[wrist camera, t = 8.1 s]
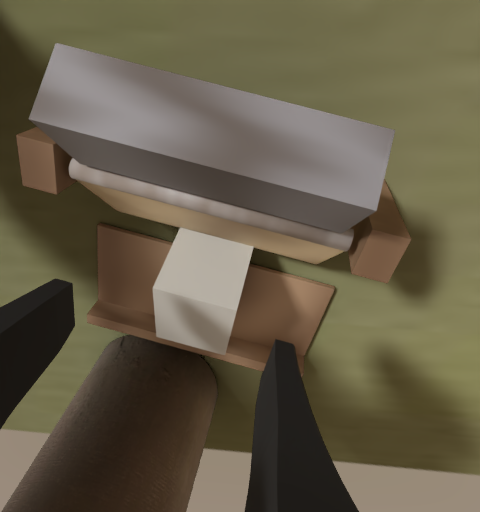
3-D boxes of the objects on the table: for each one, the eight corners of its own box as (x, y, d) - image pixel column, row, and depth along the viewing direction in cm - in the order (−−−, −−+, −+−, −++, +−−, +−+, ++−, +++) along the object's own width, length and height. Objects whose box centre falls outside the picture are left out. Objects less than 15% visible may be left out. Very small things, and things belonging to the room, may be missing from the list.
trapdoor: (132, 162, 20) (117, 211, 20) (39, 38, 11) (5, 129, 10) (328, 214, 20) (316, 265, 20) (412, 134, 10) (390, 231, 10)
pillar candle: (143, 311, 26) (-20, 583, 13) (245, 387, 28) (186, 677, 16) (81, 368, 31) (-81, 606, 18) (172, 429, 33) (84, 675, 21)
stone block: (180, 227, 20) (179, 280, 23) (152, 288, 17) (156, 336, 21) (253, 246, 19) (240, 297, 23) (236, 310, 17) (225, 355, 21)
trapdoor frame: (100, 305, 26) (48, 375, 21) (98, 103, 19) (16, 134, 13) (300, 360, 26) (297, 445, 21) (383, 177, 18) (411, 239, 13)
